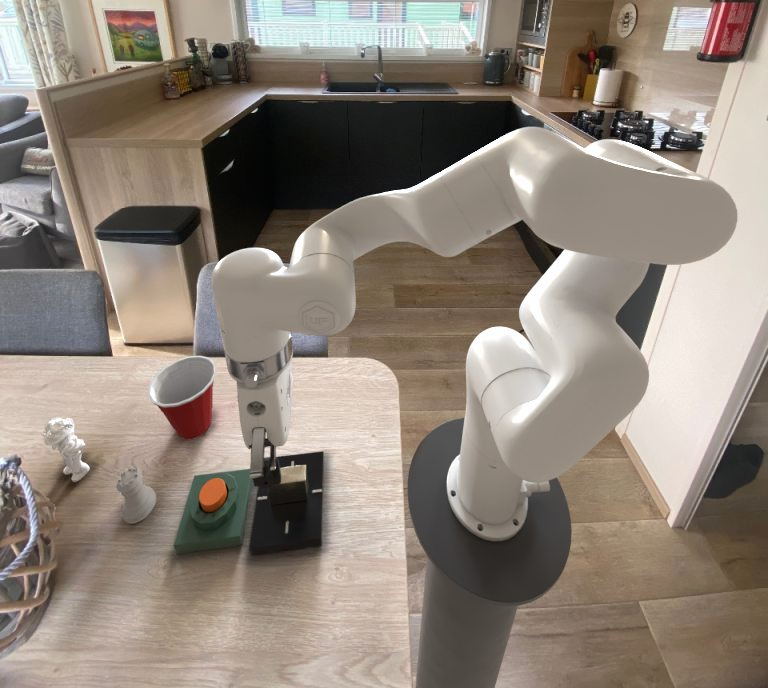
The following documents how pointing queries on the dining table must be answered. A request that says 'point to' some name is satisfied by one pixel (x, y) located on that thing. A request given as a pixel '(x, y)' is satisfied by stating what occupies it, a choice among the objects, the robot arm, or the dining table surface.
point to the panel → (291, 512)
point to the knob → (290, 486)
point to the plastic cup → (185, 394)
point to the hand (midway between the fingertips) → (273, 443)
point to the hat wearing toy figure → (66, 446)
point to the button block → (215, 514)
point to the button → (213, 495)
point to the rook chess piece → (135, 495)
